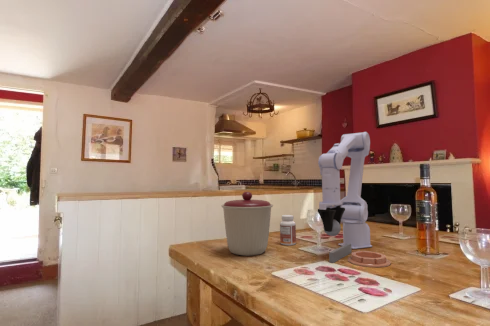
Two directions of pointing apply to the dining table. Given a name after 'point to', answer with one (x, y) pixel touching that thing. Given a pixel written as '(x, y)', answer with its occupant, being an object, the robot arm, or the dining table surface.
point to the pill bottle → (287, 230)
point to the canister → (247, 225)
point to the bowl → (368, 259)
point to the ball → (334, 229)
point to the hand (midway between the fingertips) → (332, 230)
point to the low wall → (340, 253)
